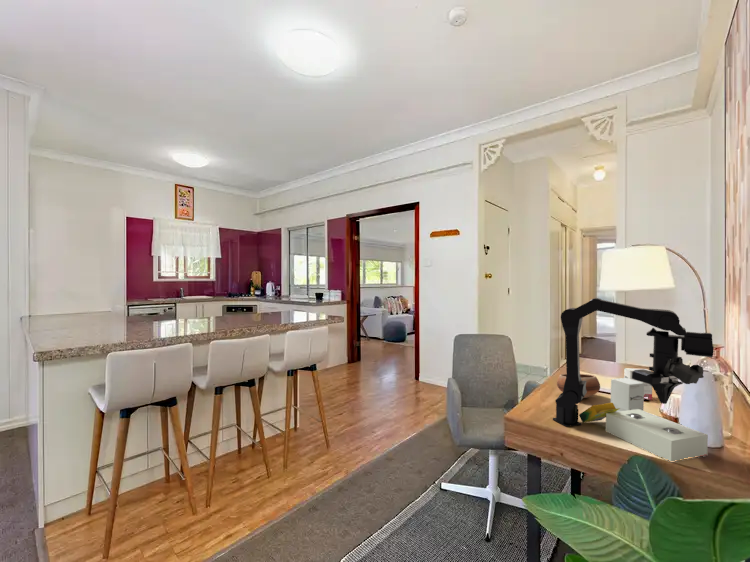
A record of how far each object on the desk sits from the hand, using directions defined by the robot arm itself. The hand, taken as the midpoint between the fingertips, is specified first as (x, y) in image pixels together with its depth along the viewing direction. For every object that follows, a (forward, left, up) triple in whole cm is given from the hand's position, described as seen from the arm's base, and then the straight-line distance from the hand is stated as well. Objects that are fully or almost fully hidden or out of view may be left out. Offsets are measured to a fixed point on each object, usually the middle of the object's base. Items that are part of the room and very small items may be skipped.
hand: (663, 403), depth 107 cm
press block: (-1, +2, -13) cm, 13 cm away
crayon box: (-7, +20, -11) cm, 24 cm away
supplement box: (+12, +21, -13) cm, 27 cm away
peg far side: (-1, -4, -12) cm, 13 cm away
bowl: (+10, +41, -13) cm, 44 cm away
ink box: (+34, +34, -13) cm, 50 cm away
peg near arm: (-1, +7, -12) cm, 14 cm away
